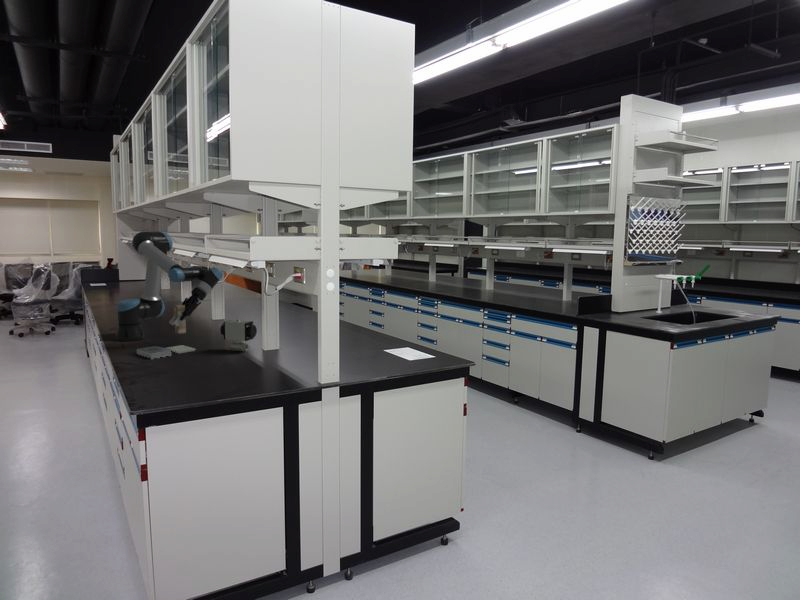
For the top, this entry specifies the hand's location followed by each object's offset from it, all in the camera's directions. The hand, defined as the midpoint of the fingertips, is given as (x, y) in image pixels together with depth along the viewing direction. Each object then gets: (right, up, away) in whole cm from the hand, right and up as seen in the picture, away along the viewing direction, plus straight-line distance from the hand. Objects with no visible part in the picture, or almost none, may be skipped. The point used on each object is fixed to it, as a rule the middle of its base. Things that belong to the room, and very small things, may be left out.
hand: (173, 324), depth 272 cm
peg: (+2, -5, +4) cm, 6 cm away
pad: (+2, -14, +5) cm, 15 cm away
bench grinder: (+33, -15, +6) cm, 37 cm away
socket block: (-6, -16, -8) cm, 19 cm away
